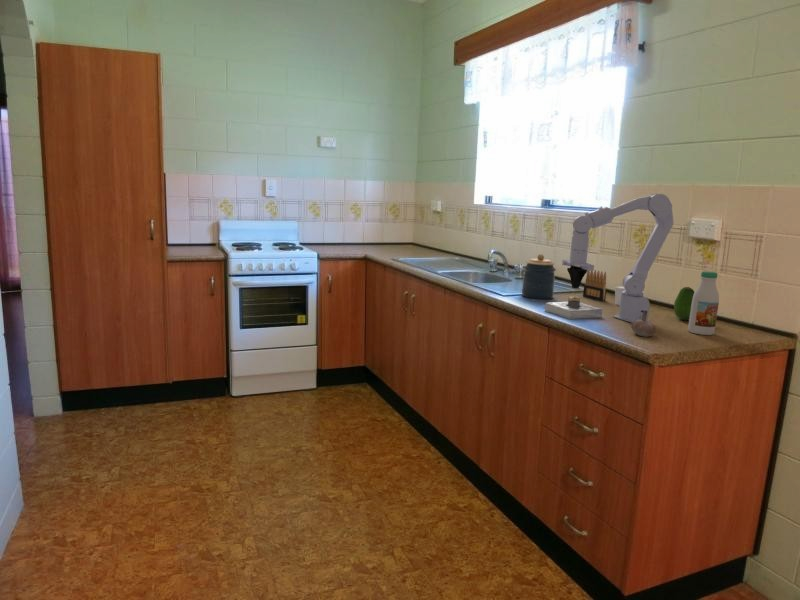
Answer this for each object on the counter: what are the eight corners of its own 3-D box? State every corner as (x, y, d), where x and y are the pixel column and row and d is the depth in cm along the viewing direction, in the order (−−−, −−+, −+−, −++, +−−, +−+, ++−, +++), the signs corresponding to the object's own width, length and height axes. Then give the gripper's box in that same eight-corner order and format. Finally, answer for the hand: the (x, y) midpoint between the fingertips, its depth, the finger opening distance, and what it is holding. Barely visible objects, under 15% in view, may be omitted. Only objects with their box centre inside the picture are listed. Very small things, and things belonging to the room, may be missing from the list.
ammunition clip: (605, 301, 241) (608, 272, 238) (602, 301, 240) (605, 272, 238) (585, 296, 250) (588, 268, 248) (582, 296, 249) (585, 268, 247)
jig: (601, 317, 209) (602, 308, 208) (570, 319, 203) (570, 310, 203) (575, 309, 221) (576, 301, 221) (544, 310, 216) (545, 302, 215)
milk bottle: (684, 332, 191) (692, 271, 188) (692, 328, 197) (701, 269, 193) (709, 337, 186) (718, 274, 182) (717, 333, 191) (726, 272, 188)
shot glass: (633, 306, 230) (635, 289, 229) (614, 305, 232) (616, 288, 230) (629, 303, 237) (631, 286, 236) (612, 302, 238) (614, 285, 237)
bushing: (581, 314, 212) (582, 298, 210) (572, 315, 210) (574, 298, 209) (573, 312, 215) (574, 296, 214) (564, 313, 213) (566, 296, 212)
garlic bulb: (636, 331, 191) (639, 306, 189) (659, 335, 186) (662, 310, 184) (626, 334, 185) (629, 309, 184) (649, 339, 180) (653, 313, 179)
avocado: (667, 318, 211) (672, 285, 209) (680, 316, 216) (684, 284, 213) (688, 323, 205) (693, 289, 202) (701, 321, 209) (706, 288, 207)
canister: (535, 292, 253) (538, 251, 250) (559, 298, 243) (563, 255, 240) (514, 295, 245) (518, 253, 242) (539, 300, 235) (543, 256, 232)
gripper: (557, 247, 213) (553, 284, 215) (584, 252, 200) (580, 291, 202) (572, 247, 216) (568, 284, 218) (600, 252, 203) (596, 291, 205)
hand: (575, 287), depth 210 cm, fingers closed
